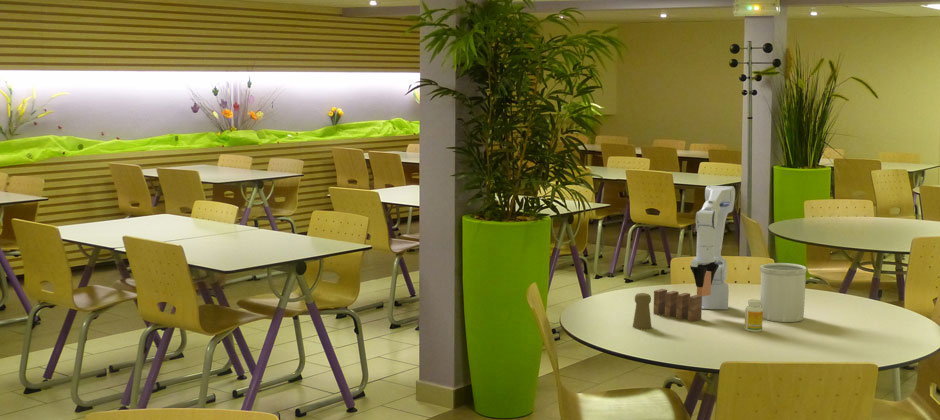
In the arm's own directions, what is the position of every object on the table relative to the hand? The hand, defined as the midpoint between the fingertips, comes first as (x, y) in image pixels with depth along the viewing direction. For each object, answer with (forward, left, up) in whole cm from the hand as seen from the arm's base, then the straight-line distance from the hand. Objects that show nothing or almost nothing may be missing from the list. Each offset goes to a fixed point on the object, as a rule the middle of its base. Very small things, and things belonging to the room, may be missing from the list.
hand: (703, 285), depth 333 cm
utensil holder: (-26, +1, -10) cm, 28 cm away
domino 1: (+14, -2, -10) cm, 17 cm away
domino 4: (+4, +6, -10) cm, 13 cm away
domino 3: (+7, +4, -10) cm, 13 cm away
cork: (+22, +18, -10) cm, 30 cm away
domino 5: (0, 0, -3) cm, 3 cm away
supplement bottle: (-13, +19, -10) cm, 25 cm away
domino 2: (+11, +1, -10) cm, 15 cm away
